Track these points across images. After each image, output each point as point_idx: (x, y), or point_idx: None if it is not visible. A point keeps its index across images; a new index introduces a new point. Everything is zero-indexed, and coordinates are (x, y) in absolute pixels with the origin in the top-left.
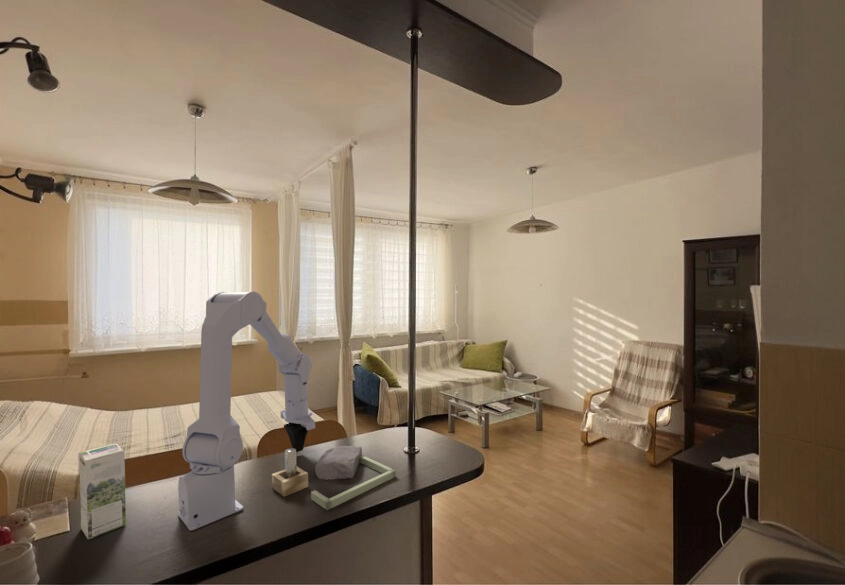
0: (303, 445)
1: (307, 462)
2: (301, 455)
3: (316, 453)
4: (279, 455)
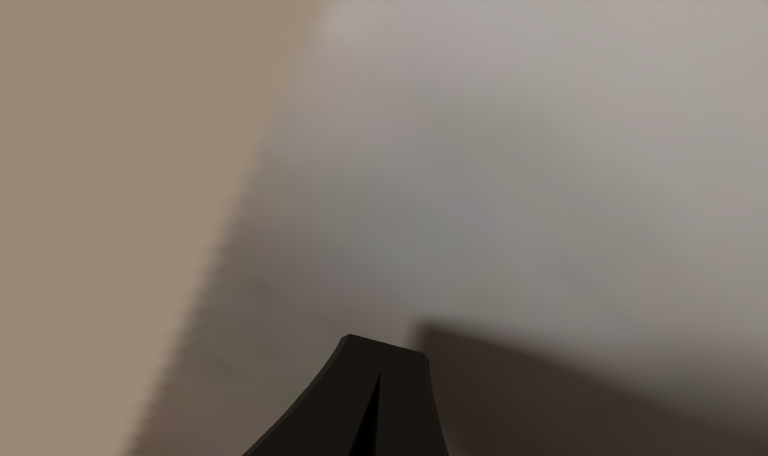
0: (432, 403)
1: (682, 447)
2: (429, 329)
3: (605, 191)
4: (173, 421)
